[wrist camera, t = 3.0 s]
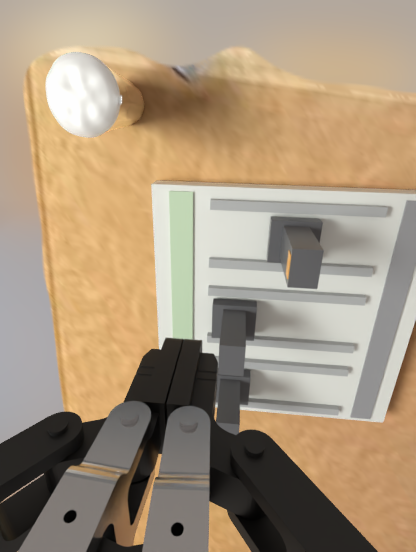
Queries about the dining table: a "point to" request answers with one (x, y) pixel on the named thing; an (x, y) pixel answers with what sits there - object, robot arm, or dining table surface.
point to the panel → (289, 295)
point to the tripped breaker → (296, 249)
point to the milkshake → (91, 96)
